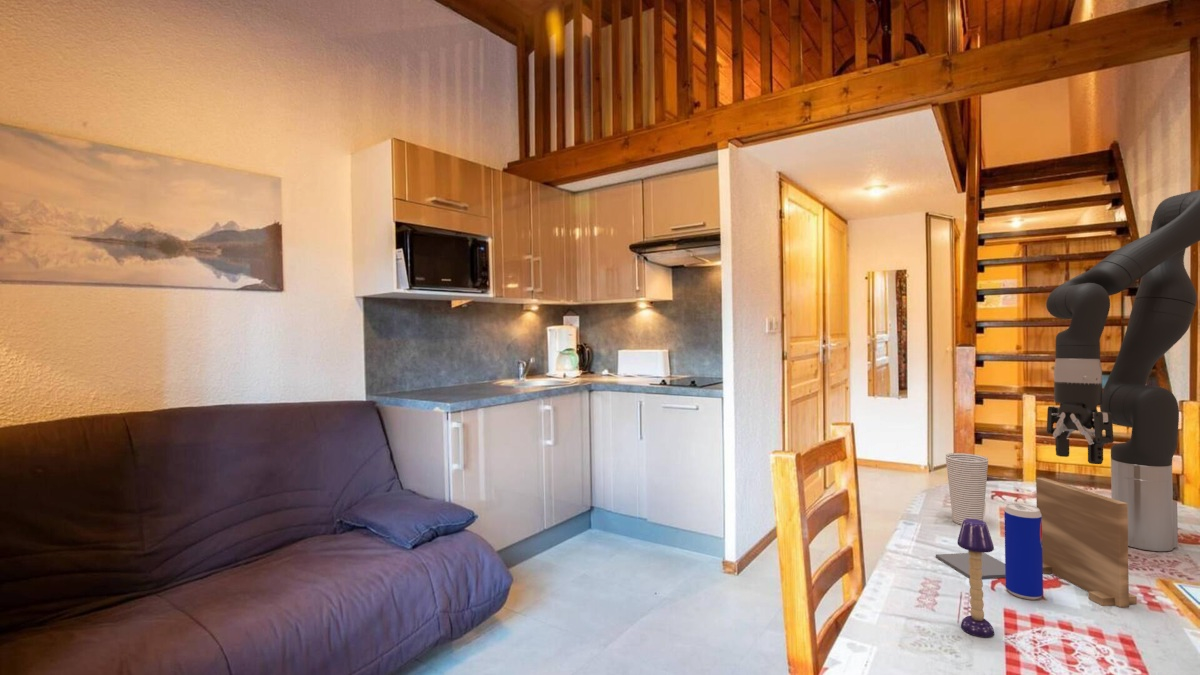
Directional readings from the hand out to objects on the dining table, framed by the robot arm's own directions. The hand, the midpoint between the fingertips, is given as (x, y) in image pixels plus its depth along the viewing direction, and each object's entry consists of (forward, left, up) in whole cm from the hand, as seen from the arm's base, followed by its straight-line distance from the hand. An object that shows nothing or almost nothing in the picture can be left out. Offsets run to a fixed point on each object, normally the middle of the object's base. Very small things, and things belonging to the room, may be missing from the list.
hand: (1078, 459), depth 114 cm
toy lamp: (+42, +27, -19) cm, 53 cm away
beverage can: (+26, +17, -19) cm, 36 cm away
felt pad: (+26, +6, -18) cm, 33 cm away
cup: (+11, -17, -19) cm, 28 cm away
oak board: (+14, +15, -18) cm, 28 cm away
